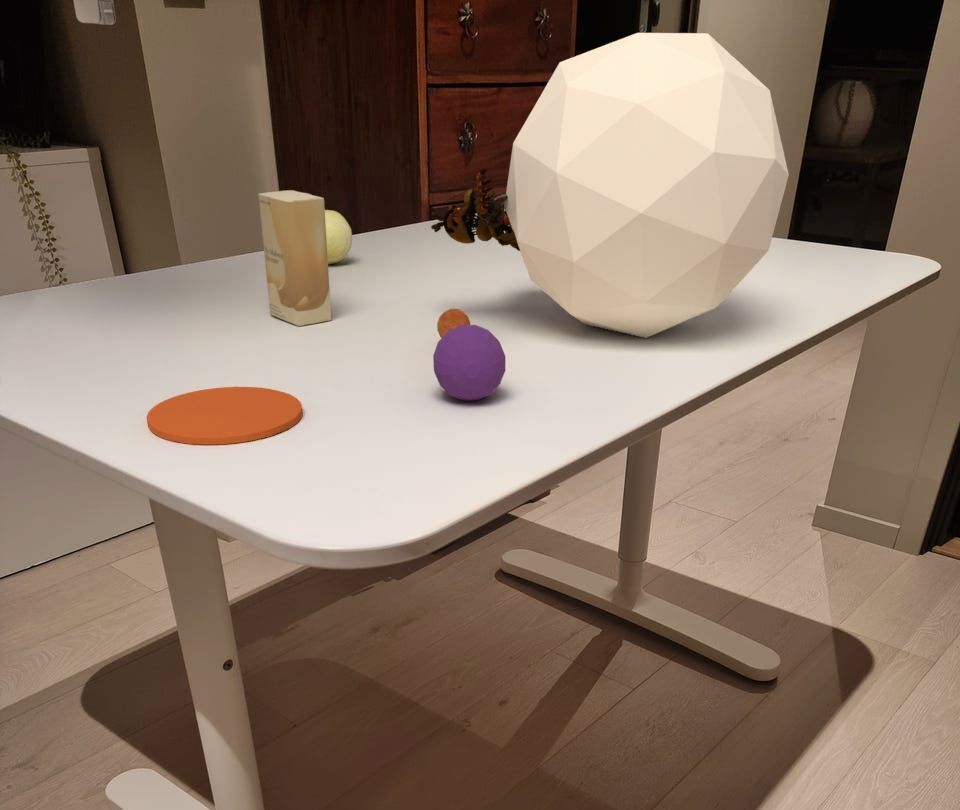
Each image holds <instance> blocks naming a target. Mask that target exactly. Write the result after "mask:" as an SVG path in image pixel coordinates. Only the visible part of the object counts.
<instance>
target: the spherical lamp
mask: <svg viewBox="0 0 960 810" xmlns="http://www.w3.org/2000/svg"><path fill="white" fill-rule="evenodd" d="M487 171H488V168H487V169H486V168H481V169H480V171H479V172H478V173H477V174H476V181H477V183H476V186H475V188H470V189H468V190H466V191H465V193H464V199H463V204H464V205H463V206H456V205H455V204H450V206H449V208H448V209H447V210H446V212H445V213H444V215H442V214H441V213H438V212H437V211H435V210H434V211H432V212H431V215H432V217H434V218H435V219H436V220H438V221H439V222H437V223H434V224H431V227H430V228H431V230H434V231H433V232H435V233H437V232H439V231H440V230H442V228H444V231H445V232H446V235H448V236H449V237H450V238H451V239H453V240H454V241H456V242H458V243H461V244H466V245H468V244H474V243H475V242H476V239H475V237H477V239H478V240H479V241H482V242H489V241H490V240H492V238H493V239H494V240H495V241H497V242H498V244H499V245H500V246H501V247H504V246H510V247H511V248H513V249H516V251H518V252H520V254H521V256H522V259H523V262H524V264H525V268H526V270H527V273H528V276H529V279H530V281H531V282H533V284H535V285H536V286H537V287H538V288H539V289H540V290H542V292H544V293H545V294H546V295H548V296H549V297H550V298H551V299H552V300H553V301H554V302H555V303H556V304H557V305H559V306H560V307H561V308H562V309H564V311H566V312H567V313H568V314H570V316H572V317H574V319H577V320H578V321H580V322H581V323H583V324H585V325H586V326H589V327H594V326H595V328H598V327H599V328H598V329H603V328H604V329H603V330H607V329H608V330H607V331H612V330H613V331H612V332H616V331H617V333H622V334H625V333H626V334H625V335H629V334H630V336H634V335H635V337H638V336H639V337H638V338H643V337H644V339H647V338H649V337H652V336H655V335H657V334H659V333H661V332H664V331H666V330H669V329H671V328H673V327H675V326H677V325H680V324H682V323H684V322H687V321H689V320H691V319H694V318H697V317H699V316H700V315H703V314H706V313H708V312H710V311H713V310H714V309H717V308H718V307H719V306H720V305H721V304H722V302H724V301H725V299H726V298H727V297H728V296H729V295H730V294H731V293H732V292H733V291H734V290H735V289H736V287H738V285H739V284H740V283H741V282H742V281H743V279H744V278H745V277H746V276H747V275H748V274H749V273H750V272H751V271H752V269H754V268H755V266H756V265H757V264H758V263H759V262H761V260H762V259H763V258H764V256H765V255H766V254H767V253H768V252H769V250H770V247H771V242H772V240H773V235H774V231H775V228H776V225H777V220H778V217H779V213H780V211H781V210H780V209H781V205H782V202H783V198H784V194H785V191H786V187H787V183H788V179H789V176H790V173H789V170H788V165H787V161H786V156H785V151H784V147H783V143H782V138H781V135H780V130H779V126H778V121H777V116H776V112H775V108H774V103H773V99H772V93H771V90H770V89H769V88H768V87H767V86H766V85H765V84H764V83H762V82H761V80H759V79H758V78H757V77H756V76H755V75H754V74H753V73H751V71H749V70H748V69H747V68H746V67H745V66H744V65H743V64H741V62H740V61H738V60H737V59H736V57H734V56H733V55H732V54H731V53H730V51H728V50H727V49H726V48H725V47H723V46H722V45H721V44H720V43H719V42H718V41H717V40H716V39H715V38H714V37H712V35H710V34H709V33H708V32H707V33H705V32H703V33H702V32H700V33H699V32H698V33H697V32H696V33H695V32H636V33H634V34H631V35H628V36H626V37H623V38H620V39H617V40H615V41H612V42H609V43H606V44H605V45H602V46H599V47H597V48H594V49H591V50H588V51H586V52H583V53H581V54H578V55H576V56H573V57H570V58H567V59H565V60H562V61H560V62H559V63H558V65H557V66H556V68H555V70H554V71H553V73H552V75H551V77H550V79H548V82H547V84H546V86H545V87H544V89H543V91H542V92H541V94H540V96H539V97H538V99H537V101H536V103H535V105H534V106H533V108H532V110H531V112H530V113H529V114H528V117H527V118H526V120H525V121H524V124H523V125H522V127H521V129H520V130H519V132H518V134H517V136H516V137H515V139H514V140H513V142H512V148H511V155H510V162H509V170H508V175H507V176H508V177H507V183H506V184H507V185H506V192H505V194H501V195H497V193H496V192H495V191H494V190H493V189H494V187H486V186H487V185H488V184H490V183H491V182H492V181H493V180H494V179H493V178H492V179H485V178H486V176H485V175H486V173H487ZM488 193H489V194H488ZM501 200H503V201H502V203H500V202H499V201H501Z"/></svg>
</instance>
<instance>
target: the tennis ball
mask: <svg viewBox="0 0 960 810" xmlns="http://www.w3.org/2000/svg"><path fill="white" fill-rule="evenodd" d="M325 223H326V239H327V255H328V265H333V264H337V263H339V262H341V261H342V260H344V259H345V258H346V257H347V256H348V255H349V253H350V250H351V248H352V245H353V232H352V228H351V226H350V224H349V223H348V221H347V219H346V218H345V217H344V216H343V215H342V214H341V213H339V212H338V211H336V210H333V209H332V210H330V209H325Z"/></svg>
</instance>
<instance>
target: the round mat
mask: <svg viewBox="0 0 960 810" xmlns="http://www.w3.org/2000/svg"><path fill="white" fill-rule="evenodd" d="M303 414H304V413H303V406H302V403H301V401H300V400H299V399H298V398H297V397H296V396H294V395H292V394H290V393H287V392H284V391H281V390H277V389H272V388H265V387H259V386H258V387H257V386H225V387H223V386H222V387H212V388H206V389H199V390H194V391H189V392H186V393H182V394H178V395H175V396H171V397H170V398H168V399H165V400H163V401H161V402H159V403H157V404H155V405H154V406H153V407H152V408H151V409H149V411H148V413H147V415H146V422H147V427H148V429H149V431H151V433H152V434H154V435H156V436H157V437H159V438H161V439H164V440H167V441H170V442H176V443H180V444H189V445H202V446H203V445H205V446H207V445H208V446H211V445H212V446H213V445H214V446H215V445H231V444H240V443H246V442H252V440H253V441H257V439H258V440H262V439H265V437H266V438H268V437H272V436H275V435H278V434H280V432H281V433H282V432H285V431H288V430H289V429H291V428H293V427H295V426H296V425H297V423H299V422H300V421H301V419H302V417H303ZM277 433H278V434H277ZM261 438H262V439H261Z"/></svg>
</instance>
